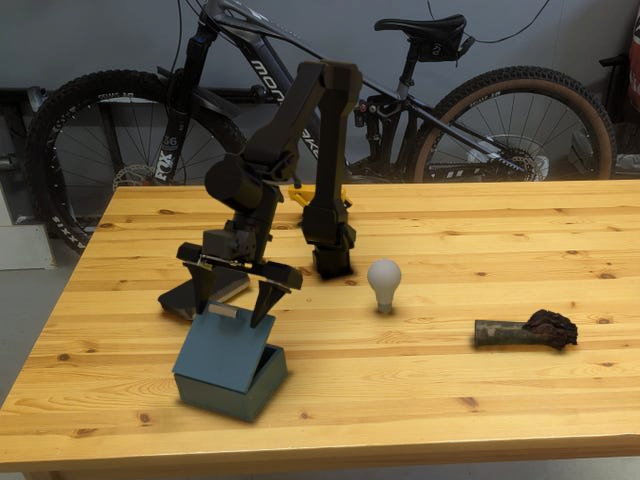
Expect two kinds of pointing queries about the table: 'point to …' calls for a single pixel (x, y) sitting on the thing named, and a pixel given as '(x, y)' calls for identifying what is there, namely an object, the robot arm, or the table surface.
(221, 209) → the table surface
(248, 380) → the blue-grey box lid
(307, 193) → the robot dog
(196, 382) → the compartment
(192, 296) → the black sponge
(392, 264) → the lightbulb
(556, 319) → the mossy log
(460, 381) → the table surface
